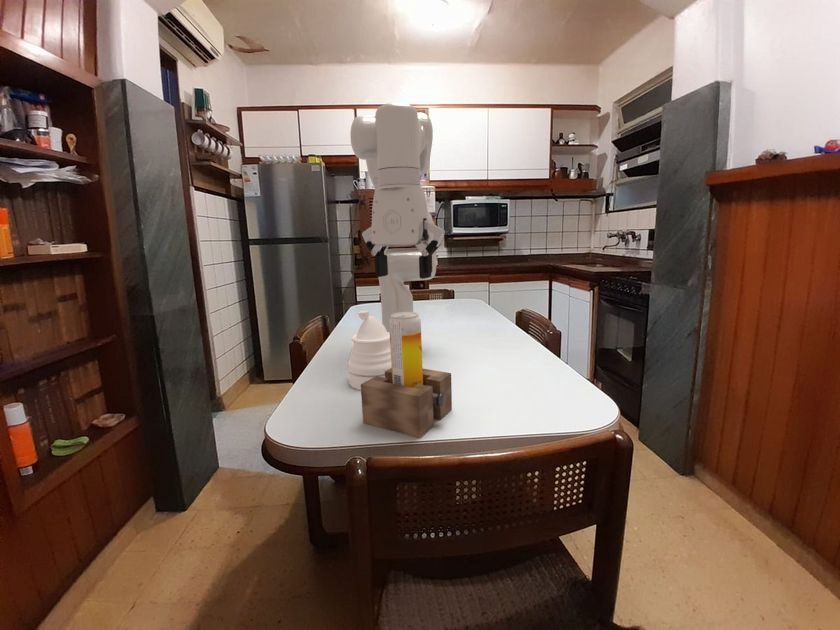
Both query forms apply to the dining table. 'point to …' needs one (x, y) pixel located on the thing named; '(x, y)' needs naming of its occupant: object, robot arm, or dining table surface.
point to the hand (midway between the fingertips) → (403, 276)
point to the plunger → (439, 399)
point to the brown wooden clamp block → (405, 402)
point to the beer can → (406, 349)
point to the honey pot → (369, 351)
